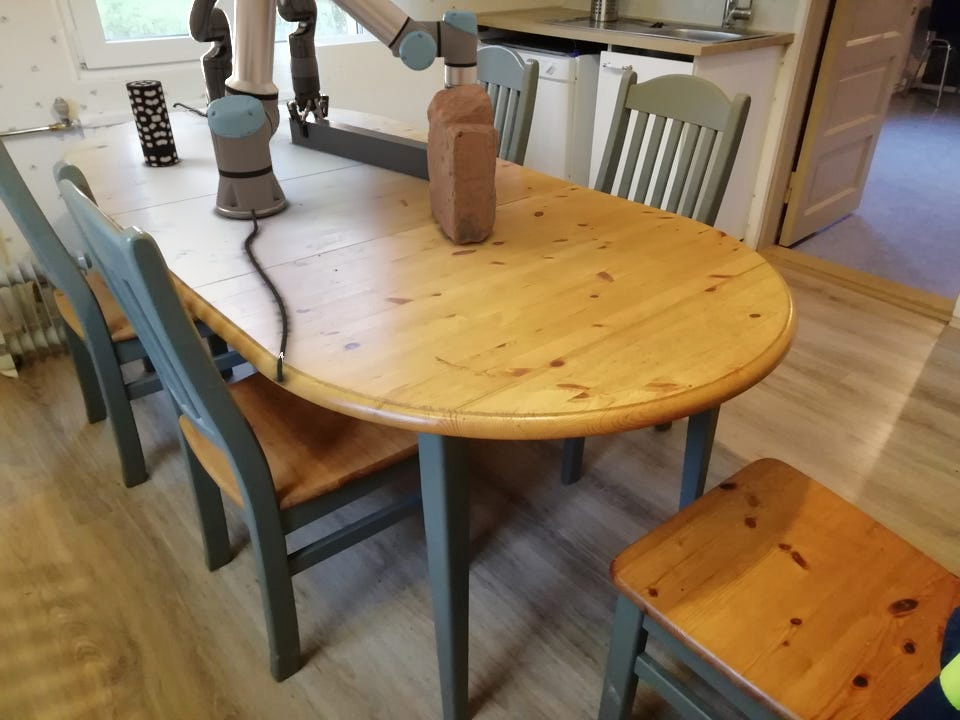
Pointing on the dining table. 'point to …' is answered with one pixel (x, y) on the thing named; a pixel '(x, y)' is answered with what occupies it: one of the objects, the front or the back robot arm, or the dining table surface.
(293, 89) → the back robot arm
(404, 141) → the post
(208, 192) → the dining table surface
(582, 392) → the dining table surface
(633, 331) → the dining table surface
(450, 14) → the front robot arm
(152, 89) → the black white spotted cylinder
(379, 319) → the dining table surface
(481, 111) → the stone
